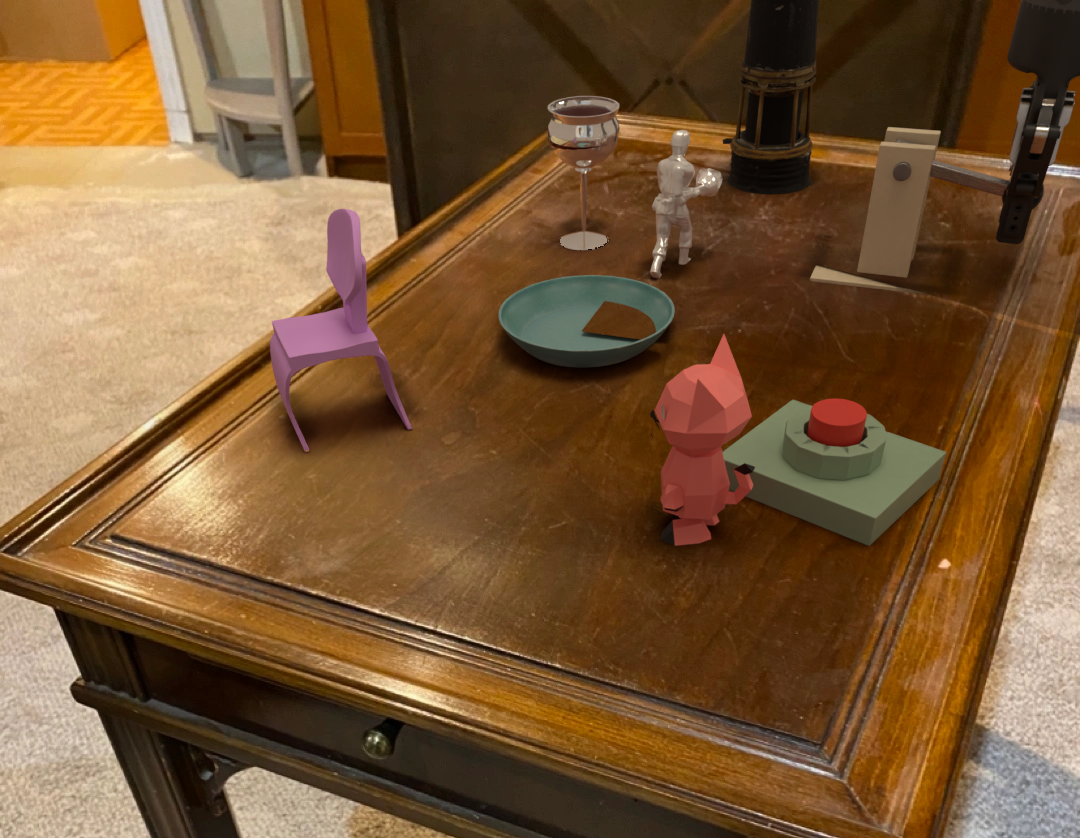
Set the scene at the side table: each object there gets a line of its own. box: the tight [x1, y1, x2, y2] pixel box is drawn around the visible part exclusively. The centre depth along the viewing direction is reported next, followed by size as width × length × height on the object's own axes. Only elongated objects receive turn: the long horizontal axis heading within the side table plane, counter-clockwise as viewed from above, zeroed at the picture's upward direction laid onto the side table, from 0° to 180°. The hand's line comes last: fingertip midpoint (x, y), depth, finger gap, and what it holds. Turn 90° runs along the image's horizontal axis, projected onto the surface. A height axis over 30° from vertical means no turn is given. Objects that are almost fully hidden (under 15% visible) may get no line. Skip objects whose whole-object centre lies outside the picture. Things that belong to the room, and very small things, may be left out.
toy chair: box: [269, 208, 413, 452], centre depth 76 cm, size 8×9×15 cm
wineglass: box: [546, 95, 621, 251], centre depth 101 cm, size 7×7×12 cm
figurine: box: [649, 129, 723, 279], centre depth 95 cm, size 5×9×12 cm, turn 154°
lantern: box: [722, 0, 820, 196], centre depth 103 cm, size 9×9×30 cm
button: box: [807, 398, 868, 447], centre depth 70 cm, size 4×4×2 cm
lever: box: [895, 138, 1045, 211], centre depth 89 cm, size 13×3×3 cm, turn 69°
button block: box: [722, 399, 947, 547], centre depth 72 cm, size 12×10×4 cm
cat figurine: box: [649, 333, 755, 546], centre depth 65 cm, size 7×7×12 cm
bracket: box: [809, 126, 942, 296], centre depth 92 cm, size 12×9×12 cm
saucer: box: [497, 274, 676, 369], centre depth 88 cm, size 15×15×3 cm
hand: (1010, 232), depth 90 cm, fingers closed on lever, 3 cm apart
